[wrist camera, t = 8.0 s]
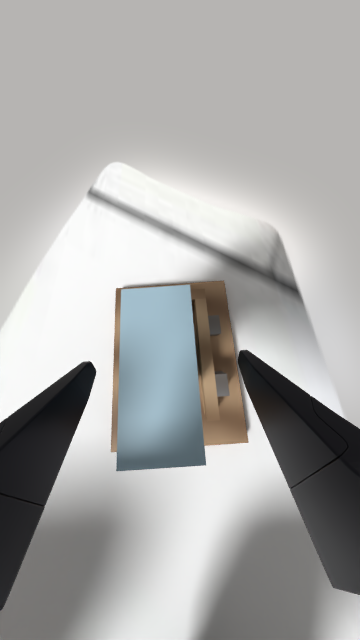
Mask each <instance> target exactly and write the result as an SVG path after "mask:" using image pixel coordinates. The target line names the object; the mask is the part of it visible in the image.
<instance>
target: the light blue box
mask: <svg viewBox="0 0 360 640" xmlns="http://www.w3.org/2000/svg"><path fill="white" fill-rule="evenodd" d="M201 465H206V459H205V448H204V437H203V425H202V414H201V403H200V392H199V381H198V369H197V358H196V347H195V336H194V325H193V313H192V302H191V291H190V285H177V286H163V287H148V288H134V289H121V315H120V353H119V392H118V430H117V469H116V471H126V470H141V469H156V468H171V467H186V466H201Z"/></svg>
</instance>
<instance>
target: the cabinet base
mask: <svg viewBox="0 0 360 640" xmlns="http://www.w3.org/2000/svg"><path fill="white" fill-rule="evenodd" d="M177 285H190V291H191V302H192V313H193V325H194V336H195V347H196V358H197V369H198V381H199V392H200V403H201V414H202V425H203V437H204V446H206V445H221V444H235V443H248V436H247V429H246V423H245V416H244V409H243V403H242V396H241V390H240V383H239V376H238V370H237V363H236V356H235V350H234V343H233V336H232V330H231V323H230V317H229V310H228V303H227V297H226V290H225V283H224V281H212V282H199V283H185V284H171V285H157V286H144V287H130V288H116V305H115V337H114V369H113V401H112V433H111V452H117V430H118V392H119V353H120V315H121V289H134V288H148V287H163V286H177Z"/></svg>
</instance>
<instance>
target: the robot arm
mask: <svg viewBox="0 0 360 640" xmlns="http://www.w3.org/2000/svg"><path fill="white" fill-rule="evenodd" d="M238 365H239V368H240V371H241V374H242V377H243V381H244V384H245V387H246V389H247V392H248V394H249V396H250V399H251V401H252V403H253V406H254V408H255V410H256V412H257V415H258V417H259V419H260V422H261V424H262V426H263V429H264V431H265V433H266V435H267V438H268V440H269V442H270V445H271V447H272V449H273V452H274V454H275V456H276V458H277V461H278V463H279V465H280V468H281V470H282V472H283V474H284V477H285V479H286V481H287V484H288V486H289V488H290V491H291V493H292V495H293V498H294V500H295V502H296V505H297V507H298V509H299V511H300V514H301V516H302V518H303V521H304V523H305V525H306V528H307V530H308V532H309V534H310V537H311V539H312V541H313V544H314V546H315V548H316V551H317V553H318V555H319V557H320V560H321V562H322V564H323V567H324V569H325V571H326V573H327V576H328V578H329V580H330V582H331V584H332V586H333V588H336V589H340V590H343V591H347V592H350V593H354V594H358V595H360V429H359V428H358V427H356V426H354V425H353V424H351V423H350V422H348V421H347V420H345V419H344V418H342V417H341V416H339V415H338V414H336V413H335V412H333V411H332V410H330V409H329V408H328V407H326V406H325V405H323V404H322V403H320V402H319V401H318V400H316V399H315V398H313V397H312V396H311V397H310V395H309V394H308V393H306V392H305V391H304V390H302V389H301V388H299V387H298V386H297V385H295V384H294V383H293V382H291V381H290V380H288V379H287V378H286V377H284V376H283V375H281V374H280V373H279V372H277V371H276V370H274V369H273V368H272V367H270V366H269V365H268V364H266V363H265V362H263V361H262V360H261V359H259V358H258V357H256V356H255V355H254V354H252V353H251V352H249V351H248V350H241V351H240V352H239V357H238ZM95 376H96V369H95V368H94V366H93V364H92V362H90V361H88V362H82V363H81V364H79V365H78V366H77V367H75V368H74V369H73V370H71V371H70V372H69V373H67V374H66V375H64V376H63V377H62V378H60V379H59V380H58V381H56V382H55V383H54V384H52V385H51V386H50V387H48V388H47V389H45V390H44V391H43V392H41V393H40V394H39V395H37V396H36V397H35V398H33V399H32V400H31V401H29V402H28V403H27V404H25V405H24V406H22V407H21V408H20V409H18V410H17V411H16V412H14V413H13V414H12V415H10V416H9V417H8V418H6V419H5V420H3V421H2V422H1V423H0V611H1V610H2V609H3V607H4V605H5V603H6V600H7V598H8V596H9V593H10V591H11V588H12V586H13V583H14V581H15V579H16V576H17V574H18V571H19V569H20V566H21V564H22V561H23V559H24V556H25V554H26V552H27V549H28V547H29V544H30V542H31V539H32V537H33V534H34V532H35V529H36V527H37V525H38V522H39V520H40V517H41V515H42V512H43V510H44V507H45V505H46V502H47V500H48V497H49V495H50V492H51V490H52V487H53V485H54V483H55V480H56V478H57V475H58V473H59V470H60V468H61V465H62V463H63V460H64V458H65V456H66V453H67V451H68V448H69V446H70V443H71V441H72V438H73V436H74V434H75V431H76V429H77V426H78V424H79V421H80V419H81V416H82V414H83V411H84V409H85V407H86V404H87V401H88V399H89V396H90V392H91V389H92V386H93V382H94V379H95Z"/></svg>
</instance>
